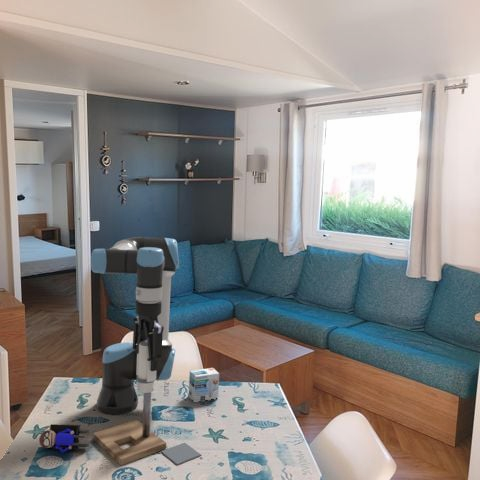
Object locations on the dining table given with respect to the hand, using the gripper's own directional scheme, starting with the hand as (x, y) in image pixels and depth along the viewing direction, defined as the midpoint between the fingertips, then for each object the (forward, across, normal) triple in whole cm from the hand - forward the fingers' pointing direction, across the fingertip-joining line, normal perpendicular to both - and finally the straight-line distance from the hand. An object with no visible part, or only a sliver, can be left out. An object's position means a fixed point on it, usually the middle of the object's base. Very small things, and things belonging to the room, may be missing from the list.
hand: (146, 377), depth 145 cm
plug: (+4, 0, 0) cm, 4 cm away
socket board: (+27, -13, +2) cm, 30 cm away
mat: (+27, +2, +12) cm, 30 cm away
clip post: (+25, -11, +7) cm, 28 cm away
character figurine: (+27, -22, -15) cm, 38 cm away
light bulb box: (+27, -27, +43) cm, 58 cm away
